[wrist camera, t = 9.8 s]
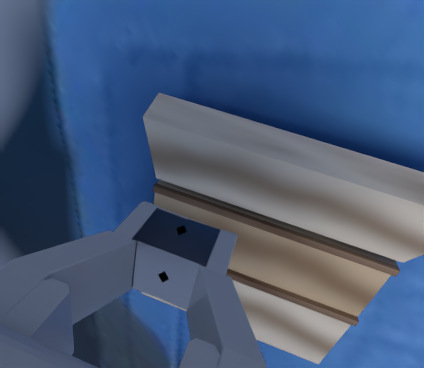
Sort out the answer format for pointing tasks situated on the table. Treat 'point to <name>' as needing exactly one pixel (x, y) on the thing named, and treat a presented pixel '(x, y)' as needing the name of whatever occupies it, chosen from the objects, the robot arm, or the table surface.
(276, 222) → the laid board
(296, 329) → the plank
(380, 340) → the table surface
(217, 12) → the table surface
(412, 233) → the plank
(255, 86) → the table surface
